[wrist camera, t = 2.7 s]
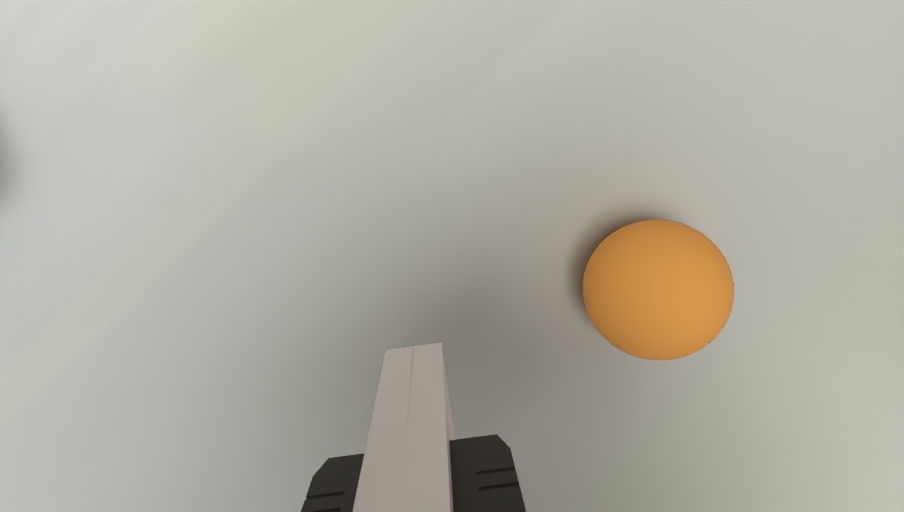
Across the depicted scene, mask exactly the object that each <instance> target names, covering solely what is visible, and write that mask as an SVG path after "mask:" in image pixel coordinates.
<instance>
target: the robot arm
mask: <svg viewBox="0 0 904 512" xmlns="http://www.w3.org/2000/svg"><path fill="white" fill-rule="evenodd" d="M301 512H526V510H525V506H524V502H523V498H522V494H521V490H520V486H519V482H518V478H517V474H516V470H515V466H514V462H513V458H512V453H511V449H510V448H509V447H508V446H507V445H506V444H505V443H504V442H503V440H502V439H501V438H500V437H499V436H498V435H497V434H496V435H488V436H481V437H473V438H465V439H458V440H455V438H454V428H453V421H452V413H451V406H450V399H449V392H448V384H447V377H446V370H445V362H444V355H443V348H442V342H441V343H433V344H426V345H418V346H410V347H403V348H395V349H387V350H386V351H385V355H384V360H383V365H382V370H381V375H380V380H379V385H378V390H377V395H376V399H375V404H374V409H373V414H372V419H371V424H370V429H369V434H368V438H367V443H366V448H365V453H364V454H357V455H350V456H342V457H334V458H328V460H327V461H326V462H325V463H324V464H323V465H322V467H321V468H320V469H319V470H318V471H317V472H316V473H315V475H314V476H313V478H312V481H311V484H310V487H309V490H308V493H307V496H306V500H305V501H304V504H303V507H302V510H301Z"/></svg>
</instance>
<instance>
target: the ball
mask: <svg viewBox="0 0 904 512" xmlns="http://www.w3.org/2000/svg"><path fill="white" fill-rule="evenodd" d="M733 298H734V284H733V279H732V274H731V271H730V268H729V265H728V263H727V261H726V259H725V258H724V256H723V254H722V253H721V252H720V250H719V249H718V248H717V246H716V245H715V244H714V243H713V242H712V241H711V240H709V239H708V238H707V237H706V236H704V235H703V234H702V233H700V232H699V231H697V230H695V229H693V228H691V227H689V226H687V225H684V224H681V223H677V222H672V221H668V220H645V221H640V222H635V223H632V224H629V225H627V226H624V227H622V228H620V229H618V230H616V231H615V232H613V233H612V234H610V235H609V236H608V237H607V238H605V239H604V240H603V241H602V242H601V243H600V244H599V245H598V247H597V248H596V249H595V251H594V252H593V254H592V255H591V257H590V259H589V261H588V264H587V266H586V269H585V273H584V278H583V299H584V303H585V307H586V310H587V313H588V315H589V318H590V320H591V321H592V323H593V324H594V326H595V327H596V329H597V330H598V331H599V333H600V334H601V335H602V336H603V337H604V338H605V339H606V340H608V341H609V342H610V343H611V344H612V345H614V346H615V347H617V348H618V349H620V350H622V351H624V352H626V353H628V354H630V355H633V356H636V357H640V358H644V359H650V360H670V359H676V358H681V357H684V356H687V355H689V354H692V353H694V352H696V351H698V350H700V349H701V348H703V347H705V346H706V345H707V344H709V343H710V342H711V341H712V340H713V339H714V338H715V337H716V336H717V335H718V334H719V333H720V331H721V330H722V328H723V327H724V325H725V324H726V322H727V320H728V318H729V315H730V312H731V309H732V304H733Z"/></svg>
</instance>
